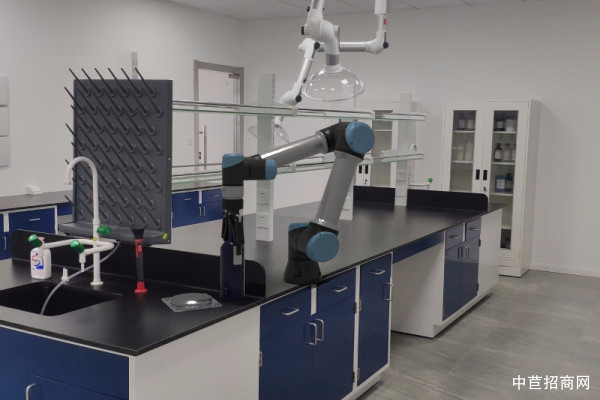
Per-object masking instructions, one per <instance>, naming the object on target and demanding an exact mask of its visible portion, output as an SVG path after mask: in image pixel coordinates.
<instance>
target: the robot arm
mask: <svg viewBox="0 0 600 400" xmlns="http://www.w3.org/2000/svg"><path fill="white" fill-rule="evenodd" d="M375 141H376V137H375V133H374V131H373V129H372V127H371V126H370V125H369V124H368V123H366V122H363V121H357V120H355V121H340V122H336V123H334V124H331V125H329V126H327V127H324V128H322V129H319V130H316V131H315V133H314V134H313V135H309V136H307V137H304V138H301V139H298V140H294V141H291V142H288V143H285V144H283V145H279V146H276V147H273V148H271V149H267V150H264V151H261V152H260V153H257V154H253V155H250V156H244V154H243V153H235V152H234V153H232V152H231V153H224V154H223V155H222V159H221V188H220V192H221V196H222V197H221V198H222V199H221V208H222V209H223V210H225V211H222V213H221V215H222V221H221V222H222V223H221V233H220V238H221V239H222V241H223V243H224V242H225V241H226V240H229V222H228V219H229V221H230V227H231V228H232V231H233V237H234V243H235V244H234V245H233V246H234V265H237V264H242V245H244V246H245V245H246V244H245V243H246V242H245V228H244V227H245V226H244V216H243V215H240V211H241V210H243V209H244V201H245V200H244V193H245V187H244V186H245V185H244V183H245V182H246V181H266V182H267V181H273V180H275V179H276V178H277V175H278V174H277V173H278V168H281V167H285V166H287V165H290V164H293V163H296V162H299V161H302V160H304V159H307V158H311V157H313V156H316V155H319V154H322V155H327V154H330V153H333V154H334V157H335V158H334V162H333V164H332V167H331V171H330V173H329V176H328V179H327V182H326V185H325V188H324V191H323V194H322V197H321V199H320V203H319V206H318V209H317V212H316V215H315V217H314V218H312V219H311V220H309V222H305V221H304V222H291V223H289V225H288V230H287V234H288V235H287V240H288V242H287V249H288V252H287V263H286V265H285V269H284V271H283V277H282V278H283V281H284V282H286V283H288V284H293V285H313V284H317V283H321V282H322V280H323V279H322V278H323V275H322V272H321V268H320V265H319V263H326V262H330V261H332V260H333V259H334V258H335V257H336V256H337V255H338V253H339V250H340V241H339V238H338V236H339V234H340V229H339V226H338V223H339V221H340V217H341V215H342V211H343V209H344V206H345V202H346V199H347V196H348V194H349V190H350V187H351V186H352V185H351V184H352V181H353V179H354V176H355V173H356V170H357V167H358V165H359V164H361V163H362V162H364V158H365V155H366V154H367V153H369V152H370V151H372V149H373V148H374V145H375ZM229 212H230V213H231V215H229ZM239 241H240V242H239Z"/></svg>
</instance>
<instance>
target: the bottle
mask: <svg viewBox="0 0 600 400" xmlns="http://www.w3.org/2000/svg"><path fill="white" fill-rule="evenodd" d="M229 215H231V213H230V212H229ZM228 222H229V240H226V241H225V242H224V241H223V243H222V244H221V246H220V247H219V249H220V250H219V251H220V252H219V253H220V254H219V258H220V259H219V298H221V299H224V300H240V299H244V298H245V297H246V295H245V293H246V292H245V289H246V288H245V285H246V283H245V281H246V279H245V274H246V273H245V268H246V265H245V262H246V261H245V260H246V259H245V258H246V257H245V255H246V254H245V253H246V249H245V248H246V247H245V244H244V245H242V264H237V265H234V246H233V245H234V244H235V243H234V237H233V231H232V228H231V227H230V221H229V219H228ZM239 242H240V241H239Z"/></svg>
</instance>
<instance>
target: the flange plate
mask: <svg viewBox="0 0 600 400" xmlns="http://www.w3.org/2000/svg"><path fill="white" fill-rule="evenodd" d="M161 301H162V302H163V303H164V304H165V305H166V306H168V308H170V309H171V310H172V311H173V312H174V313H181V312H189V311H197V310H205V309H212V308H220V307H221V308H222V307H223V304H222V303H220V302H219V301H218V300H217V299H215V298H213V297H212V296H211V295H209V294H208V293H205V292H203V293H200V292H198V293H197V292H189V293H188V292H187V293H186V292H185V293H181V294H175V295H173V296H172V297H163V298H161Z"/></svg>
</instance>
